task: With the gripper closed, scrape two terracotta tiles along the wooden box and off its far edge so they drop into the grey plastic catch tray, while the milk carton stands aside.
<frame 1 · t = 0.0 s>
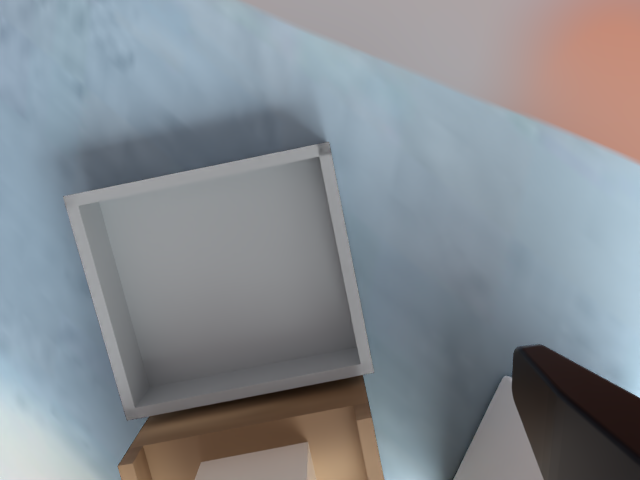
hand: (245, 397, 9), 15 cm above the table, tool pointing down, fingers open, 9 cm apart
milk carton: (535, 456, 26), on the table
tray: (232, 273, 24), on the table
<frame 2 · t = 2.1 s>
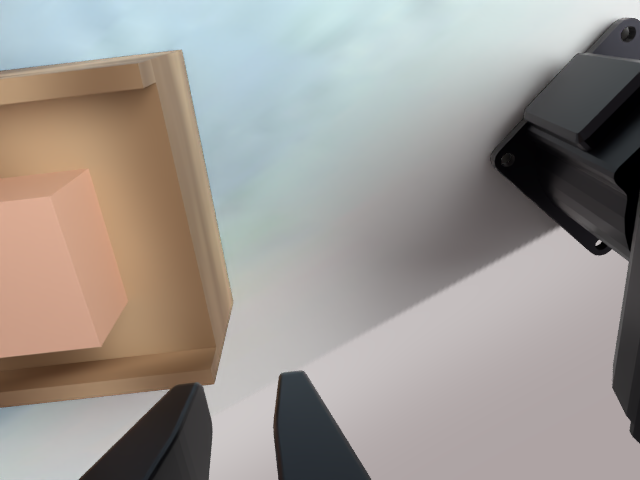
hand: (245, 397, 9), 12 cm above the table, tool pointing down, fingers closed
wooden box: (40, 208, 20), on the table
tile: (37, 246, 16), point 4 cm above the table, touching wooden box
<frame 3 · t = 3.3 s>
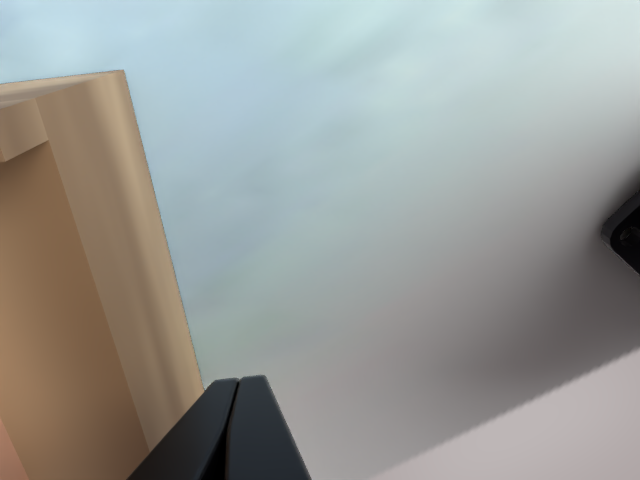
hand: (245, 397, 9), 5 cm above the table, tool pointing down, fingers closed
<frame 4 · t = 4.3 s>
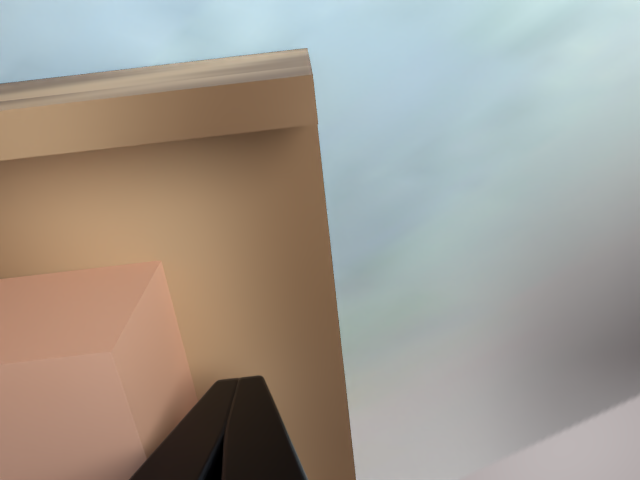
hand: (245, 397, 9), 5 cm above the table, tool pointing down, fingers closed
wooden box: (75, 286, 13), on the table
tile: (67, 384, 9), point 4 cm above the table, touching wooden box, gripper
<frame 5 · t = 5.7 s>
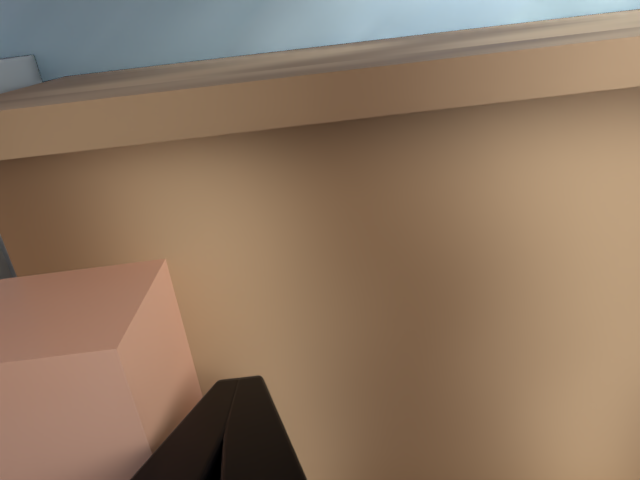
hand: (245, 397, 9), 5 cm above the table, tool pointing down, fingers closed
wooden box: (379, 251, 13), on the table
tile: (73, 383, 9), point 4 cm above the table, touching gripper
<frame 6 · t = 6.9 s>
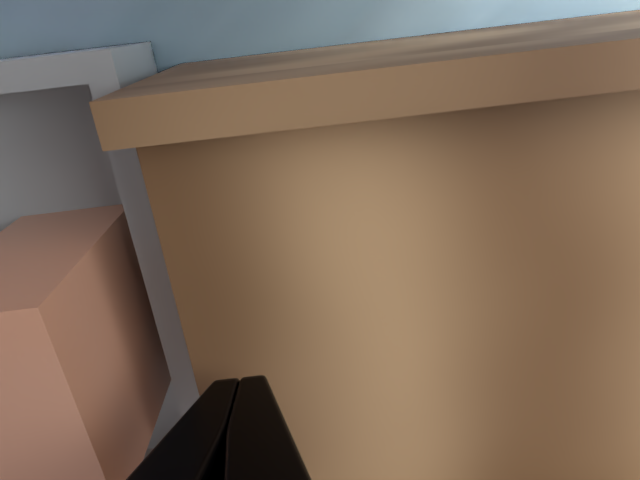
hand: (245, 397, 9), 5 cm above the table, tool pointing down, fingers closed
wooden box: (481, 242, 13), on the table
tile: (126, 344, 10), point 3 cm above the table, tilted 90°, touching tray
tray: (6, 296, 13), on the table
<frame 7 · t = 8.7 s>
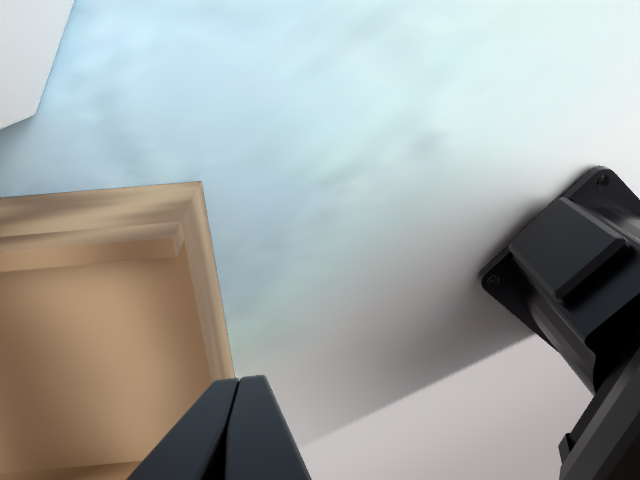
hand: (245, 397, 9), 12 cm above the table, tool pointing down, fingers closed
wooden box: (61, 311, 21), on the table
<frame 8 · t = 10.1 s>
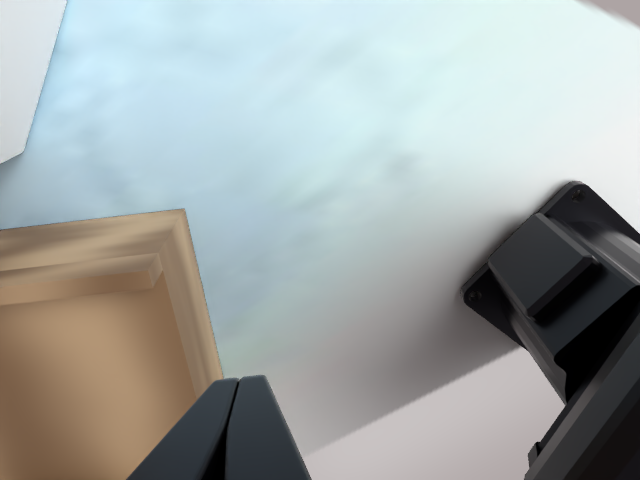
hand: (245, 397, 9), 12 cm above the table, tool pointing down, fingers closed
wooden box: (58, 335, 22), on the table
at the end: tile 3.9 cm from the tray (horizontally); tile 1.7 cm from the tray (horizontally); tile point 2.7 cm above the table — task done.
